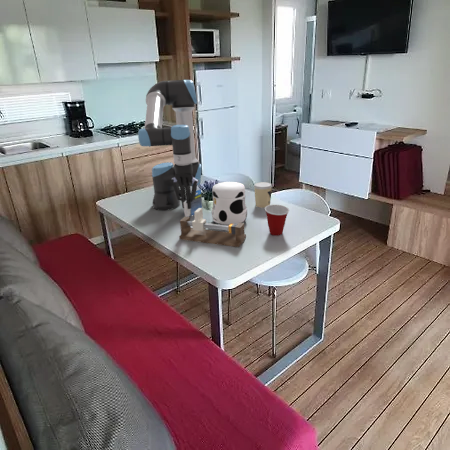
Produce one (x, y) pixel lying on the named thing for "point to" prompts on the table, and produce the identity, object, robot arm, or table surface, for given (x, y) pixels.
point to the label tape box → (196, 203)
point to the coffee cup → (262, 194)
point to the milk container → (229, 203)
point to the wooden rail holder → (212, 235)
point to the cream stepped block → (198, 220)
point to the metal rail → (218, 226)
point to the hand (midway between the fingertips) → (187, 215)
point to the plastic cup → (276, 218)
